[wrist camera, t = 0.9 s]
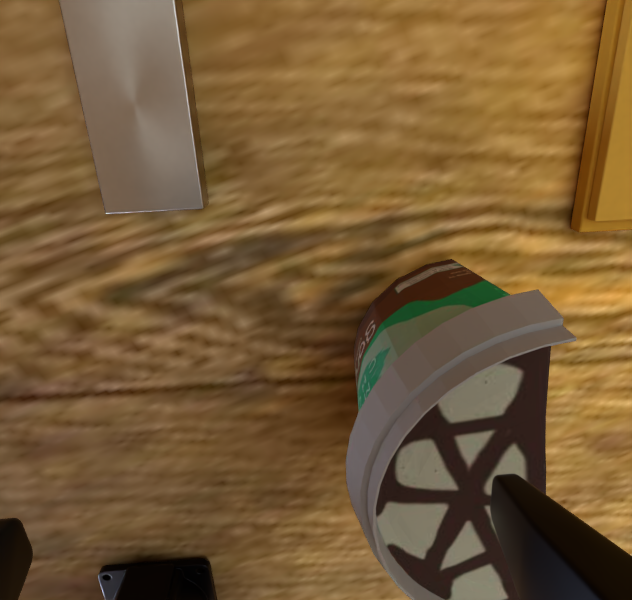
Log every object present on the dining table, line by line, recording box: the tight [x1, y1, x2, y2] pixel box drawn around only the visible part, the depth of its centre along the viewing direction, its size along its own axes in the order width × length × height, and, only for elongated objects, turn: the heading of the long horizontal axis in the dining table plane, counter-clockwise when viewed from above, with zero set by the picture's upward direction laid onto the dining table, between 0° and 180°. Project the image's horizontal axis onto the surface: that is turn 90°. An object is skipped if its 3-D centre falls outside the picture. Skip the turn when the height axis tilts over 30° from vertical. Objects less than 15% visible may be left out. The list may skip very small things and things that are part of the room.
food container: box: [346, 259, 576, 600], centre depth 18 cm, size 12×6×10 cm, turn 7°
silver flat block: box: [59, 0, 209, 214], centre depth 18 cm, size 8×4×1 cm, turn 3°
